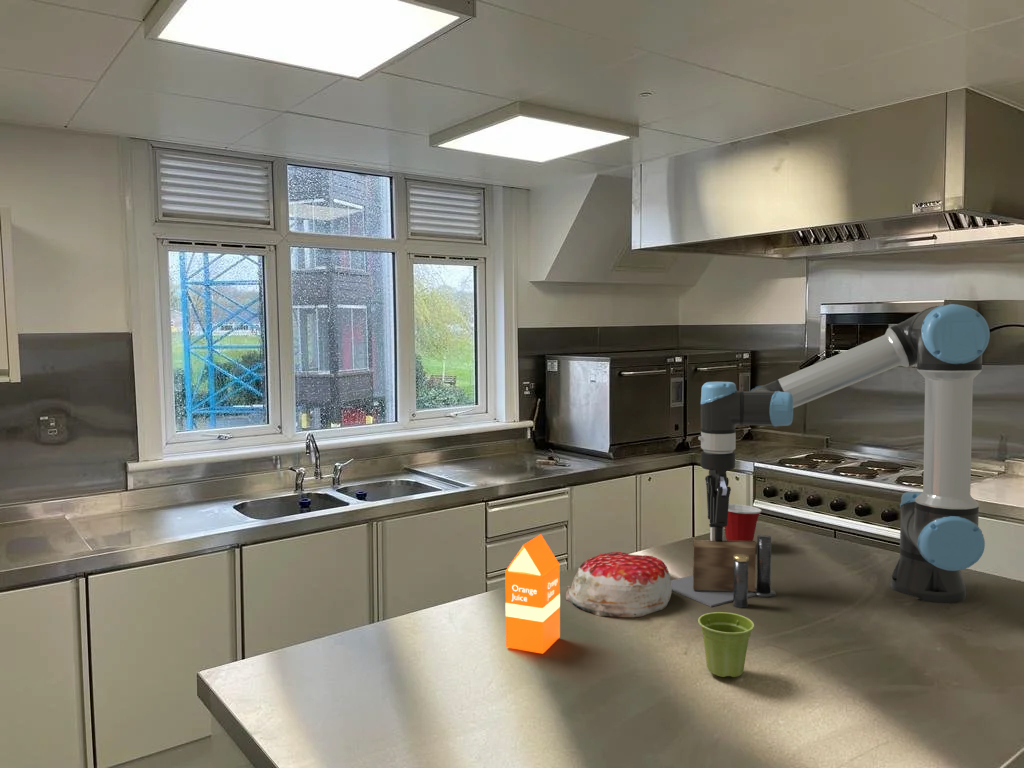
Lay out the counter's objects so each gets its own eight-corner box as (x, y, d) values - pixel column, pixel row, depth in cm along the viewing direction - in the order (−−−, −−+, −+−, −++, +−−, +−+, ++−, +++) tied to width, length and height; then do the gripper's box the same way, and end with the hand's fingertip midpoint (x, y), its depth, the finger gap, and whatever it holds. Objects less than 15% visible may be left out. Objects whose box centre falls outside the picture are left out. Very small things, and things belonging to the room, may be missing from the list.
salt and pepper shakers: (786, 597, 171) (787, 539, 170) (740, 609, 164) (741, 548, 163) (762, 588, 177) (763, 532, 176) (717, 599, 170) (717, 541, 169)
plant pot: (763, 669, 135) (764, 621, 134) (736, 688, 128) (737, 637, 127) (715, 654, 141) (715, 608, 141) (687, 671, 135) (687, 622, 134)
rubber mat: (766, 592, 174) (766, 591, 174) (710, 606, 165) (710, 605, 165) (711, 572, 188) (711, 571, 188) (658, 584, 180) (658, 583, 180)
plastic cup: (770, 553, 204) (770, 508, 203) (736, 558, 200) (737, 512, 199) (743, 543, 214) (743, 500, 213) (710, 547, 210) (711, 504, 209)
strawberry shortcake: (667, 581, 183) (667, 540, 182) (675, 620, 159) (675, 572, 158) (569, 579, 186) (569, 538, 185) (563, 616, 162) (563, 569, 161)
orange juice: (560, 636, 150) (560, 535, 149) (543, 654, 142) (542, 547, 141) (524, 630, 154) (523, 531, 152) (504, 647, 146) (503, 542, 144)
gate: (753, 588, 174) (754, 540, 173) (755, 591, 173) (755, 542, 172) (692, 588, 175) (693, 540, 174) (693, 590, 174) (694, 541, 173)
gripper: (694, 446, 180) (693, 546, 181) (707, 455, 167) (707, 563, 169) (726, 446, 180) (726, 545, 181) (742, 455, 167) (741, 562, 168)
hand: (717, 554), depth 175 cm, fingers closed
